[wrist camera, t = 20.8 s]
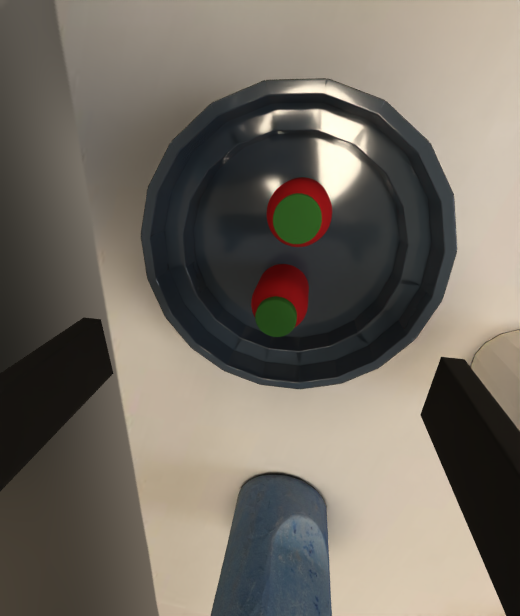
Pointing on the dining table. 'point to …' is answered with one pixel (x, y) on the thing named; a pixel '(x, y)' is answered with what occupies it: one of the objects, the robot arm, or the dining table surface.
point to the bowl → (309, 259)
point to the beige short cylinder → (501, 371)
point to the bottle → (276, 552)
